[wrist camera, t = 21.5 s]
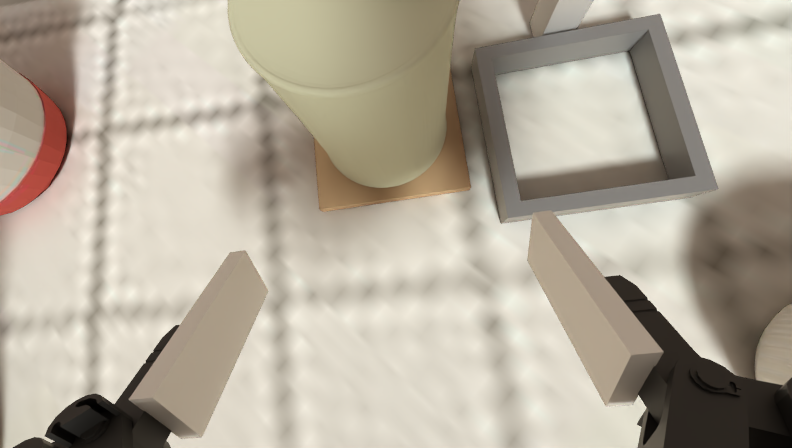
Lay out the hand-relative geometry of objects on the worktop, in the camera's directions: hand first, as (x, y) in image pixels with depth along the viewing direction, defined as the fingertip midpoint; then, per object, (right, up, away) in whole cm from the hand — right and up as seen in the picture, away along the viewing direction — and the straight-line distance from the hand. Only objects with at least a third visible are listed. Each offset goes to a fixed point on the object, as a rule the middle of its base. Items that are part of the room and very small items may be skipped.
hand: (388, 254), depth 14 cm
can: (0, +9, +9) cm, 12 cm away
